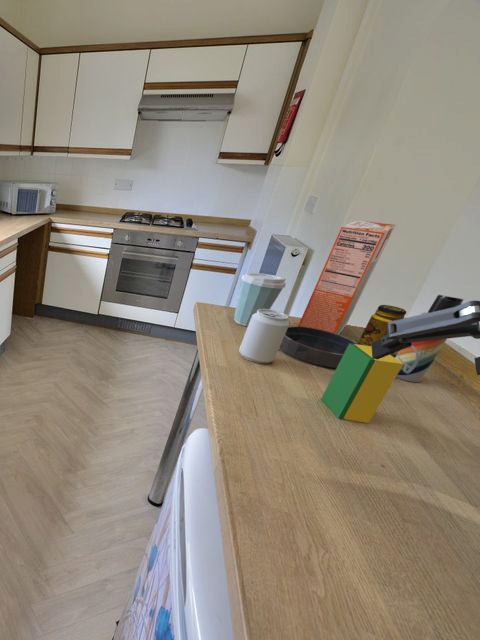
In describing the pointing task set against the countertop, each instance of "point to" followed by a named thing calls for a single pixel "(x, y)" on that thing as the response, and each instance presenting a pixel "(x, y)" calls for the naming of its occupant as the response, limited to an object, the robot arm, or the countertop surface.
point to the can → (264, 335)
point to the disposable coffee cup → (256, 295)
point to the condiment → (380, 324)
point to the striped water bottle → (423, 346)
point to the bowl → (315, 345)
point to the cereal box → (345, 275)
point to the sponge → (360, 383)
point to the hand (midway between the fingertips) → (425, 358)
